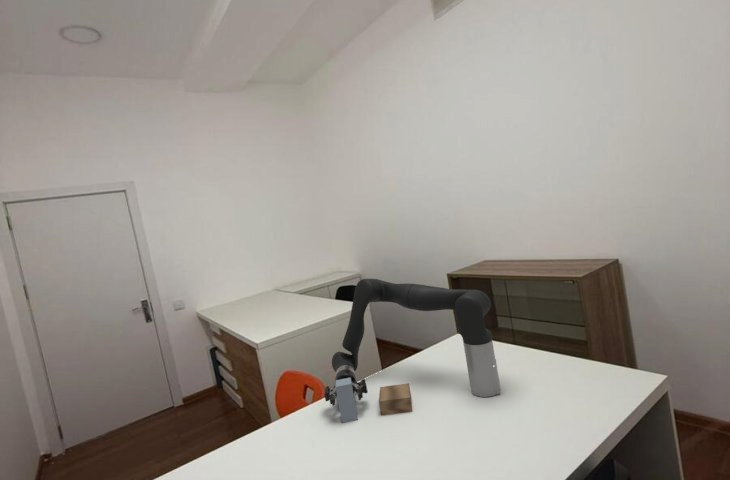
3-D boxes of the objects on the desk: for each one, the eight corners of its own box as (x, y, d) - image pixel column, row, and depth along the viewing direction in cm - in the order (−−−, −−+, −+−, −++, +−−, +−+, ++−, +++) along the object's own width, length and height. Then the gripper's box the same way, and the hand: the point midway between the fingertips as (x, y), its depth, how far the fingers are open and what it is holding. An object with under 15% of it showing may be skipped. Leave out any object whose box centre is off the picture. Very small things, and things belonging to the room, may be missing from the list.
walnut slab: (411, 397, 134) (408, 383, 134) (412, 412, 124) (409, 397, 124) (382, 400, 135) (380, 387, 135) (381, 416, 125) (378, 401, 125)
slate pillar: (356, 412, 130) (350, 377, 129) (357, 419, 125) (351, 383, 124) (342, 415, 130) (335, 380, 129) (342, 423, 125) (335, 387, 124)
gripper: (324, 373, 141) (322, 393, 125) (363, 365, 142) (366, 384, 125) (327, 392, 141) (326, 415, 125) (366, 385, 142) (370, 406, 126)
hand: (346, 400), depth 125 cm, fingers open, 8 cm apart
